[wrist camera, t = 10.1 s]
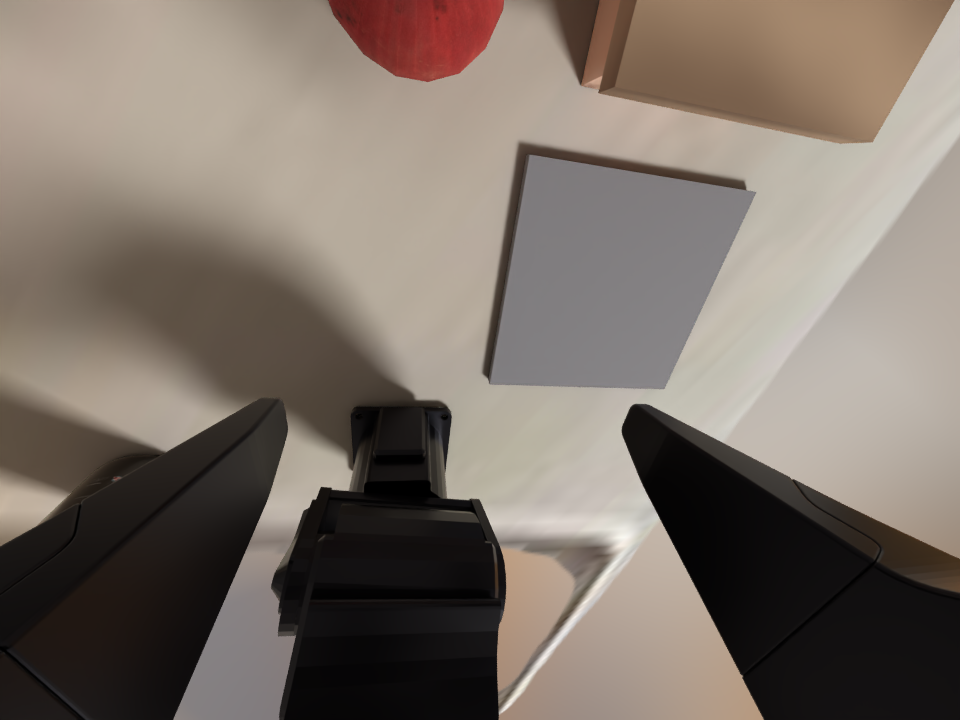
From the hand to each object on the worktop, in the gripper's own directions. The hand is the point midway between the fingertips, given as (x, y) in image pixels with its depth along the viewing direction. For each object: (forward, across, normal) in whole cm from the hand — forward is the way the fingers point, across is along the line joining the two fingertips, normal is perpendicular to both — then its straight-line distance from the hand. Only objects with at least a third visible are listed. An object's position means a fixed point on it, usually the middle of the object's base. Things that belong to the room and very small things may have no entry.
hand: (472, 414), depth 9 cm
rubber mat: (+12, -10, 0) cm, 16 cm away
